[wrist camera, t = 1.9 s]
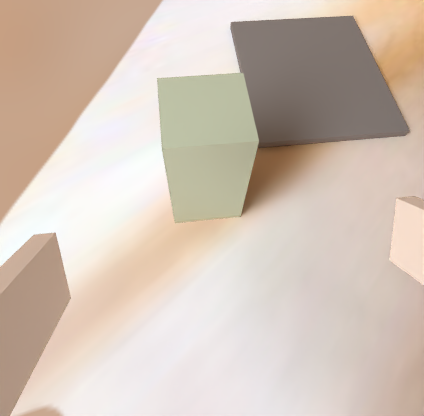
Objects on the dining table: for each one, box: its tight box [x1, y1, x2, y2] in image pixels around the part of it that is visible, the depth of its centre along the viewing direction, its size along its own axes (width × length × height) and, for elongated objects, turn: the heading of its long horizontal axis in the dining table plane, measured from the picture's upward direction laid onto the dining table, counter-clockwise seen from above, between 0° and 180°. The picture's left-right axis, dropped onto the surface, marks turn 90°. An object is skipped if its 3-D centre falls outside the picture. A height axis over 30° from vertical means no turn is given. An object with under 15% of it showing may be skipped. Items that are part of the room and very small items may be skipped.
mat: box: [231, 16, 410, 148], centre depth 38 cm, size 16×19×1 cm
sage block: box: [157, 73, 259, 223], centre depth 27 cm, size 6×6×11 cm
